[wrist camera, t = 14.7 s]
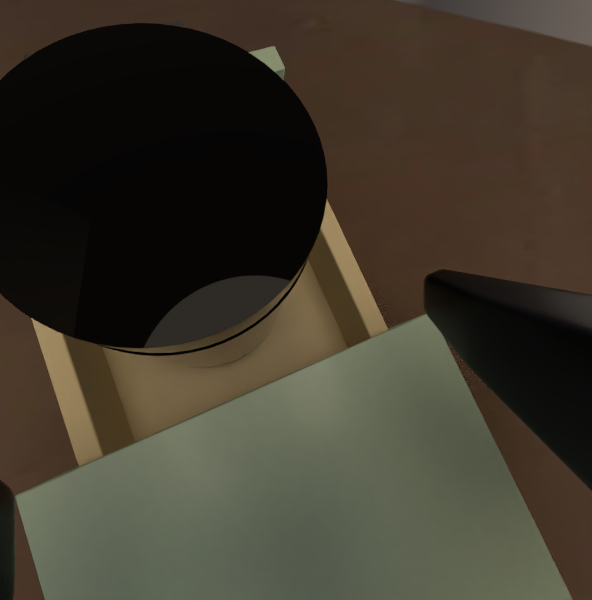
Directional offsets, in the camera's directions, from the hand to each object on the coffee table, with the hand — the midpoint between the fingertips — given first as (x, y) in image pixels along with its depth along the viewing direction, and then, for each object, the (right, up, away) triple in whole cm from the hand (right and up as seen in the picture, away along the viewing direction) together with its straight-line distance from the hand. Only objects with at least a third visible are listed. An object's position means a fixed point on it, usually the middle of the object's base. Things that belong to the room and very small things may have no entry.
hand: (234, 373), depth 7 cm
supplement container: (-3, +2, +10) cm, 10 cm away
